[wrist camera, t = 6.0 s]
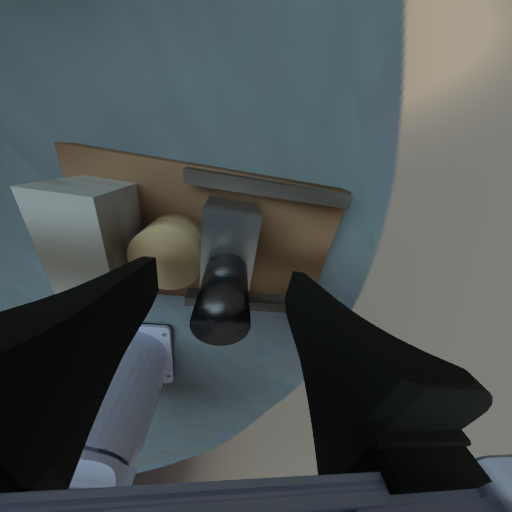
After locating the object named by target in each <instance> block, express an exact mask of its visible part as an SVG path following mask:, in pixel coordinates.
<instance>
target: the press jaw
mask: <svg viewBox="0 0 512 512" xmlns="http://www.w3.org/2000/svg"><path fill="white" fill-rule="evenodd" d="M262 217H263V216H262V213H261V210H260V207H259V204H258V202H252V201H245V200H239V199H232V198H225V197H219V196H212V195H210V197H209V198H208V200H207V201H206V203H205V204H204V206H203V207H202V227H201V258H200V288H199V292H198V295H197V299H196V302H195V306H194V309H193V312H192V316H191V319H190V329H191V331H192V333H193V334H194V336H195V337H196V338H198V339H199V340H201V341H202V342H205V343H207V344H211V345H218V346H223V345H230V344H233V343H236V342H238V341H240V340H242V339H243V338H244V337H245V336H246V335H247V334H248V332H249V330H250V326H251V321H250V306H249V288H250V282H251V277H252V272H253V266H254V261H255V255H256V250H257V244H258V239H259V233H260V228H261V222H262Z"/></svg>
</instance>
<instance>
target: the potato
mask: <svg viewBox="0 0 512 512" xmlns="http://www.w3.org/2000/svg"><path fill="white" fill-rule="evenodd" d="M201 227H202V225H201V224H200V223H199V222H198V221H196V220H195V219H194V218H192V217H190V216H188V215H185V214H181V213H167V214H164V215H162V216H160V217H158V218H157V219H156V220H154V221H153V222H152V223H151V224H150V225H148V226H147V227H146V228H145V229H143V230H142V231H141V232H140V233H139V234H137V235H136V236H135V237H134V238H133V239H132V240H131V242H130V243H129V246H128V249H127V260H128V262H131V261H133V260H135V259H137V258H139V257H142V256H147V257H156V265H157V276H158V287H159V289H163V290H177V289H181V288H184V287H187V286H189V285H190V284H192V283H193V282H194V281H195V280H196V279H197V277H198V275H199V273H200V258H201Z"/></svg>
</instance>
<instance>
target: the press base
mask: <svg viewBox="0 0 512 512" xmlns="http://www.w3.org/2000/svg"><path fill="white" fill-rule="evenodd" d="M54 144H55V148H56V152H57V155H58V159H59V162H60V166H61V169H62V173H63V176H64V178H59V179H53V180H46V181H40V182H33V183H27V184H21V185H14V186H10V187H11V190H12V192H13V195H14V197H15V199H16V202H17V204H18V207H19V209H20V211H21V214H22V216H23V219H24V221H25V224H26V226H27V228H28V231H29V233H30V236H31V238H32V241H33V243H34V245H35V248H36V250H37V253H38V255H39V258H40V260H41V262H42V265H43V267H44V270H45V272H46V275H47V277H48V279H49V282H50V284H51V287H52V289H53V292H54V294H57V293H60V292H63V291H65V290H68V289H71V288H73V287H76V286H78V285H80V284H83V283H85V282H87V281H90V280H92V279H94V278H96V277H99V276H101V275H103V274H105V273H108V272H110V271H112V270H114V269H116V268H118V267H120V266H122V265H124V264H126V263H128V260H127V249H128V246H129V243H130V242H131V240H132V239H133V238H134V237H135V236H136V235H137V234H139V233H140V232H141V231H142V230H143V229H145V228H146V227H147V226H148V225H150V224H151V223H152V222H153V221H154V220H156V219H157V218H158V217H160V216H162V215H164V214H167V213H181V214H185V215H188V216H190V217H192V218H194V219H195V220H196V221H198V222H199V223H200V224H201V225H202V207H203V206H204V204H205V203H206V201H207V200H208V198H209V197H210V195H212V196H219V197H225V198H232V199H239V200H245V201H252V202H258V204H259V207H260V210H261V213H262V216H263V217H262V222H261V228H260V233H259V239H258V244H257V250H256V255H255V261H254V266H253V272H252V277H251V282H250V288H249V306H250V310H256V311H271V312H286V308H285V301H284V299H285V296H286V292H287V289H288V286H289V282H290V279H291V275H292V272H293V271H296V272H304V273H305V274H306V275H308V276H309V277H310V278H311V279H313V280H314V281H315V282H316V283H317V281H318V279H319V276H320V273H321V271H322V268H323V266H324V263H325V260H326V258H327V255H328V252H329V250H330V247H331V245H332V242H333V239H334V237H335V234H336V231H337V229H338V226H339V224H340V221H341V218H342V216H343V213H344V210H345V209H349V206H350V203H351V201H352V198H353V196H351V192H350V191H347V190H344V189H342V188H336V187H331V186H325V185H319V184H313V183H307V182H301V181H295V180H289V179H283V178H278V177H272V176H266V175H260V174H254V173H248V172H242V171H236V170H230V169H225V168H219V167H213V166H207V165H201V164H195V163H189V162H183V161H177V160H171V159H166V158H160V157H154V156H148V155H142V154H136V153H130V152H124V151H118V150H113V149H107V148H101V147H95V146H89V145H83V144H77V143H62V142H54ZM199 288H200V273H199V275H198V277H197V279H196V280H195V281H194V282H193V283H192V284H190V285H189V286H187V287H184V288H181V289H177V290H163V289H159V290H158V293H157V294H164V295H177V296H185V306H195V302H196V299H197V295H198V292H199Z"/></svg>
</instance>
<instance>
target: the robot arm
mask: <svg viewBox="0 0 512 512" xmlns="http://www.w3.org/2000/svg"><path fill="white" fill-rule="evenodd" d="M158 290H159V287H158V276H157V265H156V257H147V256H142V257H139V258H137V259H135V260H133V261H131V262H128V263H126V264H124V265H122V266H120V267H118V268H116V269H114V270H112V271H110V272H108V273H105V274H103V275H101V276H99V277H96V278H94V279H92V280H90V281H87V282H85V283H83V284H80V285H78V286H76V287H73V288H71V289H68V290H65V291H63V292H60V293H57V294H54V295H52V296H49V297H46V298H43V299H40V300H37V301H34V302H31V303H28V304H24V305H21V306H18V307H15V308H11V309H8V310H5V311H1V312H0V512H512V454H511V455H490V456H482V457H479V458H476V459H475V458H474V456H473V455H472V454H471V453H470V451H469V450H468V449H467V447H466V446H470V445H471V441H470V440H469V439H468V437H467V436H466V435H465V433H464V432H463V431H462V430H461V429H463V428H464V427H466V426H467V425H469V424H470V423H471V422H473V421H474V420H476V419H477V418H479V417H480V416H481V415H483V414H484V413H485V412H486V411H487V410H488V409H489V408H490V406H491V405H492V396H491V394H490V392H488V391H487V390H486V389H485V388H484V387H483V386H482V385H481V384H480V383H479V382H478V381H477V380H476V379H475V378H474V377H473V376H472V375H471V374H470V373H469V372H468V371H466V370H465V369H463V368H461V367H459V366H456V365H454V364H452V363H449V362H447V361H445V360H443V359H440V358H438V357H436V356H433V355H431V354H429V353H426V352H424V351H422V350H420V349H418V348H416V347H414V346H412V345H410V344H408V343H406V342H404V341H402V340H400V339H398V338H396V337H394V336H392V335H391V334H388V333H387V332H385V331H383V330H382V329H380V328H378V327H376V326H375V325H373V324H371V323H370V322H368V321H367V320H365V319H364V318H362V317H360V316H359V315H357V314H356V313H354V312H353V311H352V310H350V309H349V308H347V307H346V306H345V305H343V304H342V303H341V302H339V301H338V300H337V299H335V298H334V297H333V296H332V295H330V294H329V293H328V292H327V291H326V290H324V289H323V288H322V287H321V286H320V285H319V284H317V283H316V282H315V281H314V280H313V279H311V278H310V277H309V276H308V275H306V274H305V273H304V272H296V271H293V272H292V275H291V279H290V282H289V286H288V289H287V292H286V296H285V299H284V301H285V308H286V314H287V318H288V321H289V325H290V328H291V331H292V335H293V338H294V341H295V344H296V347H297V351H298V354H299V358H300V362H301V366H302V371H303V376H304V381H305V387H306V393H307V398H308V403H309V410H310V417H311V422H312V430H313V437H314V445H315V452H316V460H317V469H318V475H313V476H295V477H280V478H279V477H278V478H260V479H244V480H224V481H207V482H190V483H172V484H154V485H136V486H135V485H133V484H132V483H133V479H134V476H135V473H136V470H137V468H136V467H132V466H130V465H131V464H132V463H133V462H134V460H135V459H136V457H137V456H138V454H139V453H140V451H141V449H142V447H143V444H144V442H145V439H146V436H147V433H148V430H149V427H150V424H151V420H152V417H153V414H154V411H155V408H156V405H157V402H158V399H159V396H160V393H161V390H162V387H163V384H164V383H172V382H173V379H174V373H173V357H172V340H171V328H170V327H169V326H167V325H152V324H142V323H143V321H144V319H145V318H146V316H147V314H148V313H149V311H150V309H151V307H152V305H153V303H154V300H155V298H156V296H157V293H158ZM165 333H166V334H165Z"/></svg>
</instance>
